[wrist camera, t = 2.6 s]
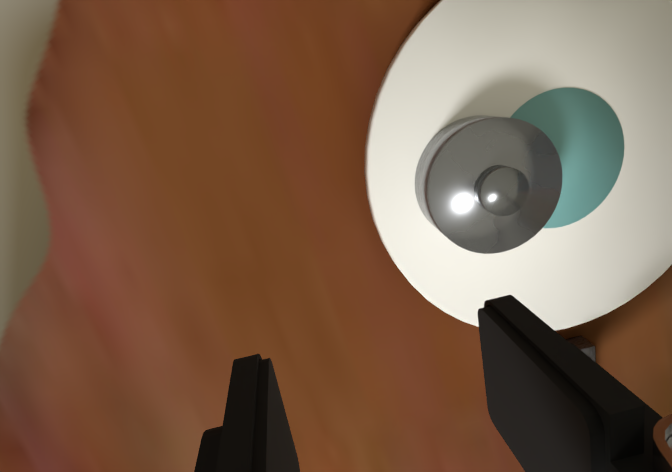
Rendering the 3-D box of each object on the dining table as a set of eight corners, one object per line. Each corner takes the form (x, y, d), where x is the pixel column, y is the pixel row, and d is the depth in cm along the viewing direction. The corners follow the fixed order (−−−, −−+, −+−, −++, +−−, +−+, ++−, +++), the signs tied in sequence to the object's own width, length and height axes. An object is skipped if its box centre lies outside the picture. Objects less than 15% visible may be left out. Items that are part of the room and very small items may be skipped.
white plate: (699, -73, 27) (751, -94, 24) (684, 274, 33) (724, 290, 30) (328, -2, 25) (334, -16, 22) (389, 344, 32) (401, 369, 29)
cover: (530, 103, 25) (571, 104, 22) (537, 224, 27) (576, 243, 24) (406, 129, 25) (426, 134, 21) (423, 249, 27) (444, 273, 23)
